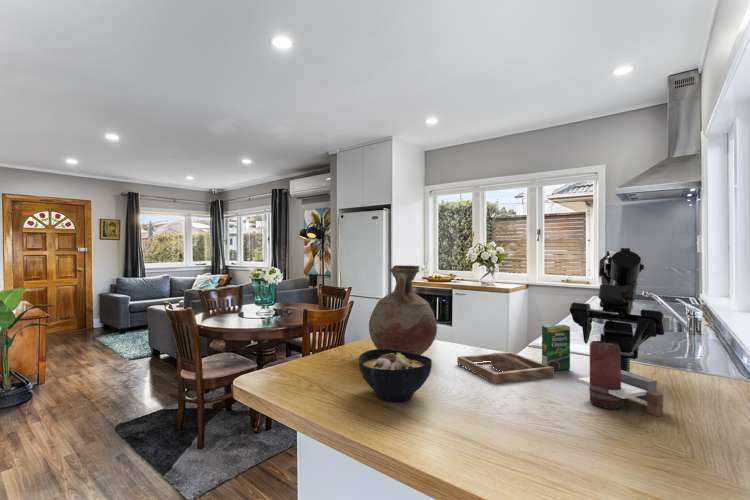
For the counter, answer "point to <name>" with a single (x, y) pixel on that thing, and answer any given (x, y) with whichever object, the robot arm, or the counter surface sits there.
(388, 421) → the counter surface
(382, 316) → the jug
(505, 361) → the oyster shell
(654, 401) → the frame
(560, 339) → the coffee box
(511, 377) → the wooden tray
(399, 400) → the bowl
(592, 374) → the can
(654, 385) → the trapdoor
